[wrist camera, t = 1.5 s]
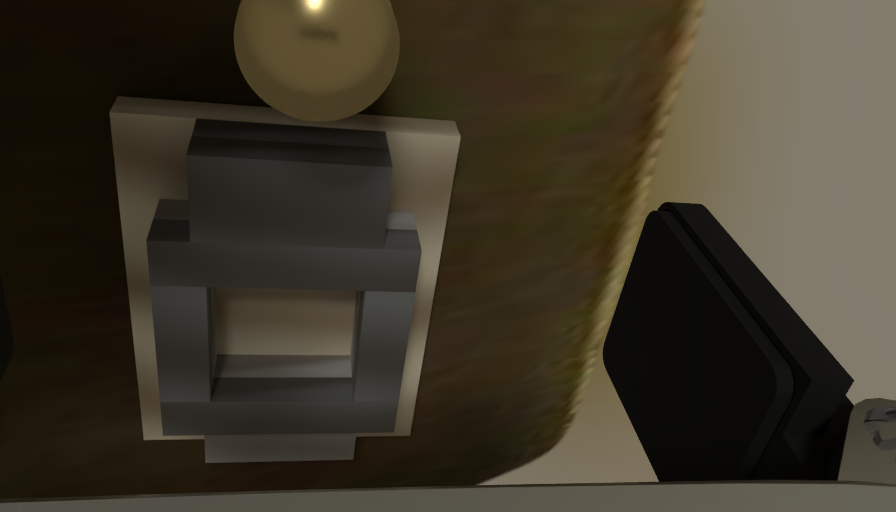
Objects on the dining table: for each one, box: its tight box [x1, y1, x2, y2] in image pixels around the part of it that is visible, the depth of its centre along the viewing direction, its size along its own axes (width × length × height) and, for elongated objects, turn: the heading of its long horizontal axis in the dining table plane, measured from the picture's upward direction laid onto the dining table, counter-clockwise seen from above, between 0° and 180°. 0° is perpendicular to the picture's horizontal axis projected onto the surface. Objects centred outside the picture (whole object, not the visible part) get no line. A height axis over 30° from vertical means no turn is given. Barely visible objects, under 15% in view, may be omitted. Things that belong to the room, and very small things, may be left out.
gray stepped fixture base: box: [109, 96, 461, 463], centre depth 32 cm, size 17×13×4 cm
